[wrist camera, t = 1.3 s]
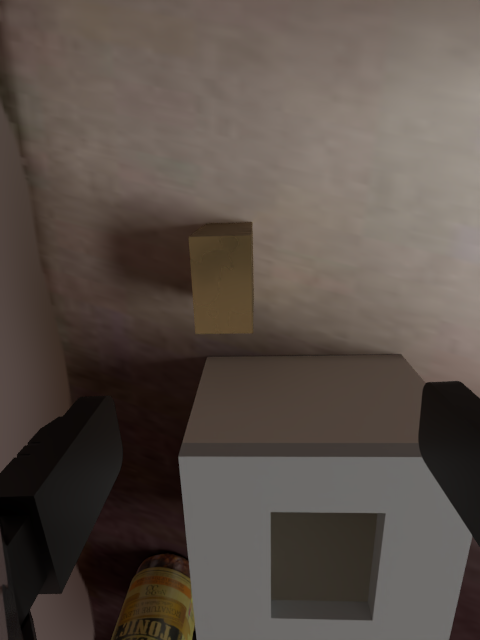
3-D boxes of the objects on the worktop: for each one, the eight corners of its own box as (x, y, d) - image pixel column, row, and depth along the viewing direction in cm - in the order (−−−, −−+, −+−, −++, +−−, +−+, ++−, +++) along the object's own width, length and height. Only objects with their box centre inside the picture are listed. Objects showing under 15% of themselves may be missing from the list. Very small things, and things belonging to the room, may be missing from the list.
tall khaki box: (206, 223, 25) (188, 236, 18) (252, 222, 25) (251, 235, 18) (210, 297, 27) (195, 333, 20) (253, 296, 26) (252, 333, 20)
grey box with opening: (207, 356, 28) (178, 456, 18) (401, 354, 27) (490, 457, 17) (216, 506, 33) (198, 654, 22) (383, 507, 32) (444, 661, 22)
